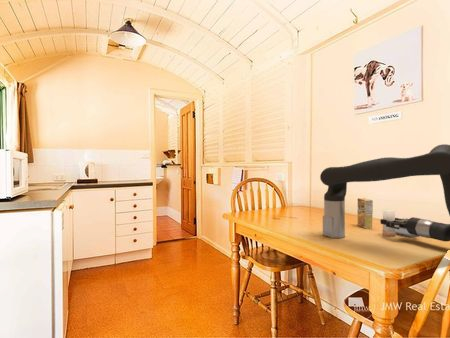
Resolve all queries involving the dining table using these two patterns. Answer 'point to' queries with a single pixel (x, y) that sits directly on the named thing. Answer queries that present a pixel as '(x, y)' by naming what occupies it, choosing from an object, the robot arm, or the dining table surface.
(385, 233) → the white cylindrical lamp
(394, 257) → the dining table surface
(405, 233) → the mat
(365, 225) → the candy box
